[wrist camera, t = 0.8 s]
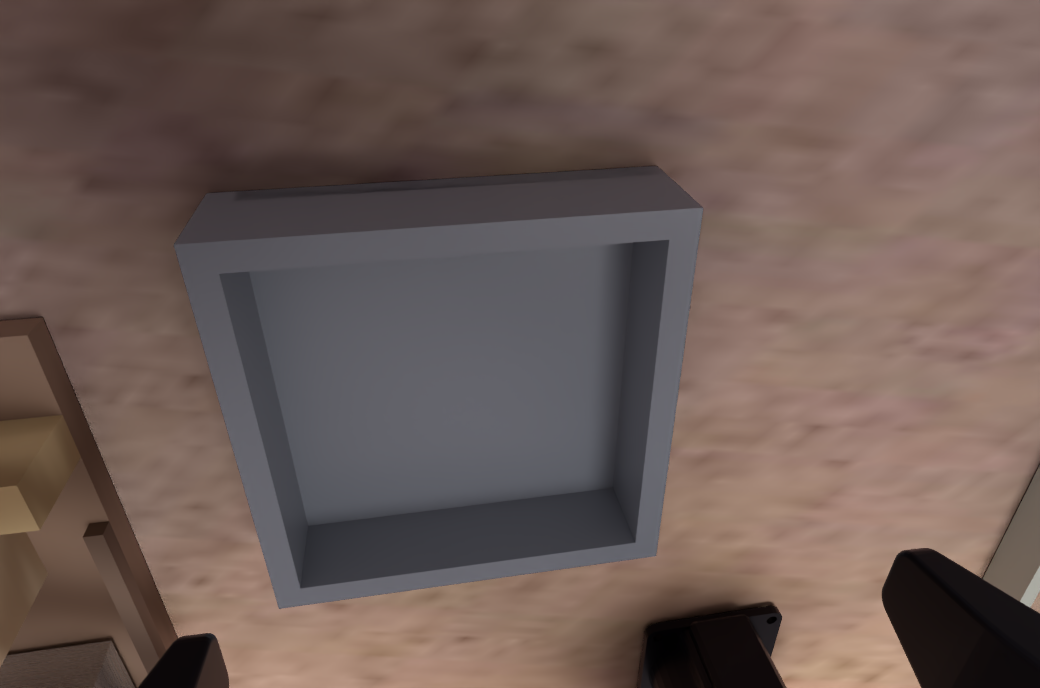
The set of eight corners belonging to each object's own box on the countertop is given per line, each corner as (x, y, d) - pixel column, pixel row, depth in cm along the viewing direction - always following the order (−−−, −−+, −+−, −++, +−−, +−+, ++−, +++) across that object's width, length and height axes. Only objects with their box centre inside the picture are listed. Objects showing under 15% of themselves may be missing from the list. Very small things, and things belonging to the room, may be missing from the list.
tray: (626, 486, 27) (656, 555, 24) (291, 528, 25) (278, 608, 22) (657, 165, 20) (703, 207, 17) (206, 193, 19) (173, 244, 16)
